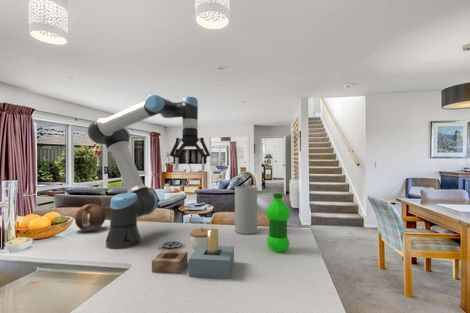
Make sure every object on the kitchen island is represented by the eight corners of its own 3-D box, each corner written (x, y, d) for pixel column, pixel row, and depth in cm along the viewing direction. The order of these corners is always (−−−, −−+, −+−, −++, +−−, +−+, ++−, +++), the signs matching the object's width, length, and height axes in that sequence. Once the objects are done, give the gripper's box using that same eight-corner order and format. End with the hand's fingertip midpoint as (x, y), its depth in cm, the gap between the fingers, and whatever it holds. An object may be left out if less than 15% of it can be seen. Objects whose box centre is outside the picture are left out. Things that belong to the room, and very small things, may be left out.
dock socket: (188, 276, 85) (188, 258, 85) (198, 260, 99) (198, 245, 99) (229, 278, 83) (229, 260, 83) (233, 261, 97) (234, 246, 97)
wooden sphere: (88, 226, 150) (88, 201, 150) (110, 227, 148) (111, 202, 148) (67, 233, 135) (68, 206, 135) (93, 235, 133) (93, 206, 133)
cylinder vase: (243, 227, 148) (243, 185, 149) (261, 231, 141) (261, 186, 142) (230, 232, 138) (230, 187, 139) (249, 236, 131) (249, 188, 131)
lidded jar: (204, 243, 119) (204, 223, 119) (218, 248, 112) (218, 227, 112) (184, 248, 112) (185, 227, 112) (199, 255, 104) (199, 232, 104)
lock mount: (151, 271, 88) (151, 260, 88) (162, 260, 98) (163, 250, 98) (179, 273, 87) (179, 261, 87) (187, 261, 97) (187, 251, 97)
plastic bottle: (270, 245, 117) (270, 191, 117) (292, 248, 112) (292, 193, 113) (263, 252, 108) (263, 194, 108) (287, 256, 103) (286, 195, 104)
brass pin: (206, 270, 89) (206, 231, 89) (208, 266, 93) (208, 228, 93) (217, 271, 89) (217, 231, 89) (218, 266, 93) (219, 228, 93)
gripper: (163, 127, 123) (162, 170, 122) (213, 126, 120) (212, 170, 119) (168, 129, 130) (168, 170, 130) (215, 128, 127) (215, 170, 127)
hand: (189, 170), depth 124 cm, fingers open, 13 cm apart
